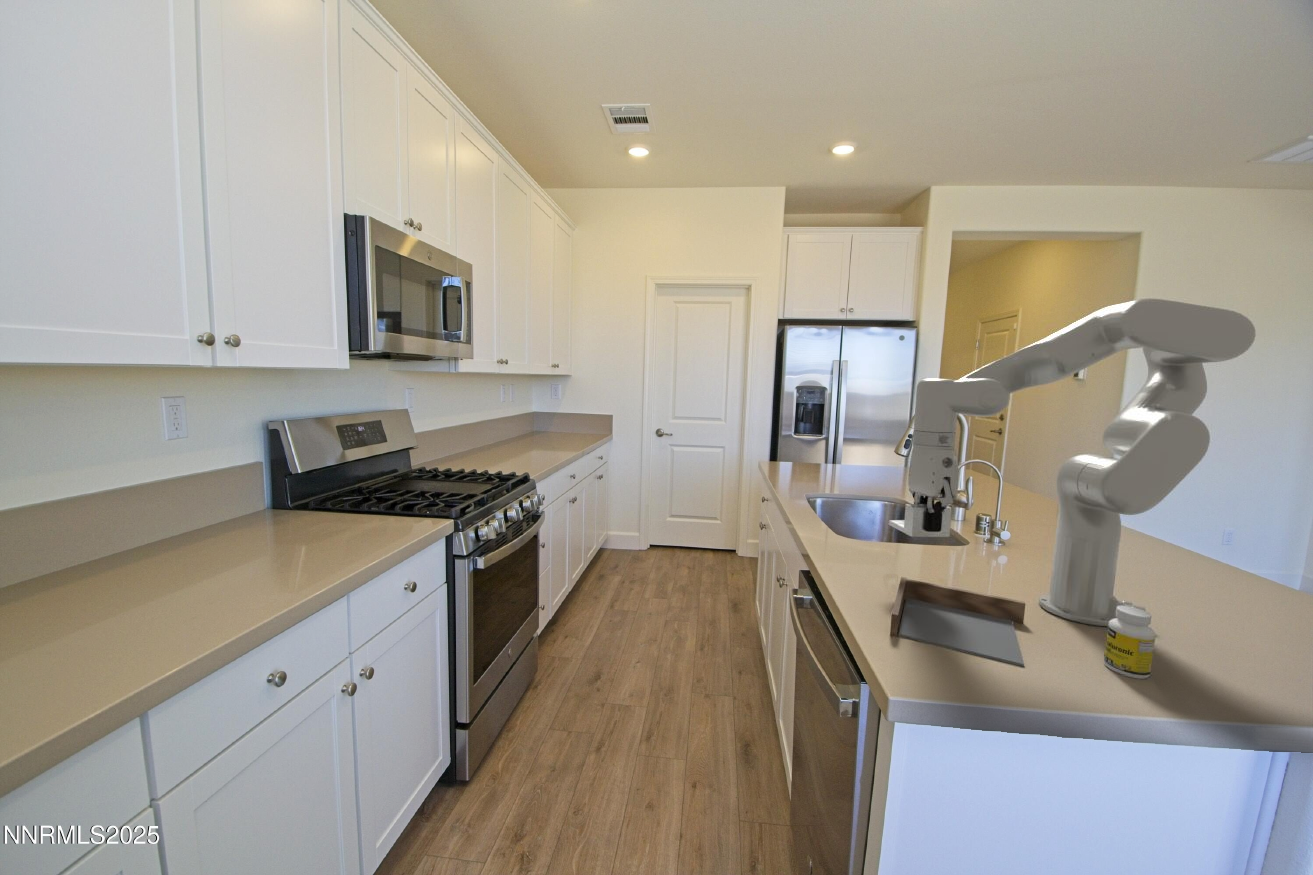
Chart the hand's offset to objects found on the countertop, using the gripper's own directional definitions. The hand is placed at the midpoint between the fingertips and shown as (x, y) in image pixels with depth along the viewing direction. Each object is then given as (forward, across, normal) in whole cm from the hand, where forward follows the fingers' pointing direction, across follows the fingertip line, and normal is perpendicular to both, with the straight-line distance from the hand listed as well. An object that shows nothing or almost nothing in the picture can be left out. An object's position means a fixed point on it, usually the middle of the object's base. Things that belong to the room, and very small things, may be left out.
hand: (927, 527), depth 104 cm
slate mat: (+15, -14, +2) cm, 20 cm away
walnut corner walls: (+15, -14, +2) cm, 20 cm away
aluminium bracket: (+1, +3, 0) cm, 3 cm away
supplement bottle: (+15, -27, -17) cm, 36 cm away
